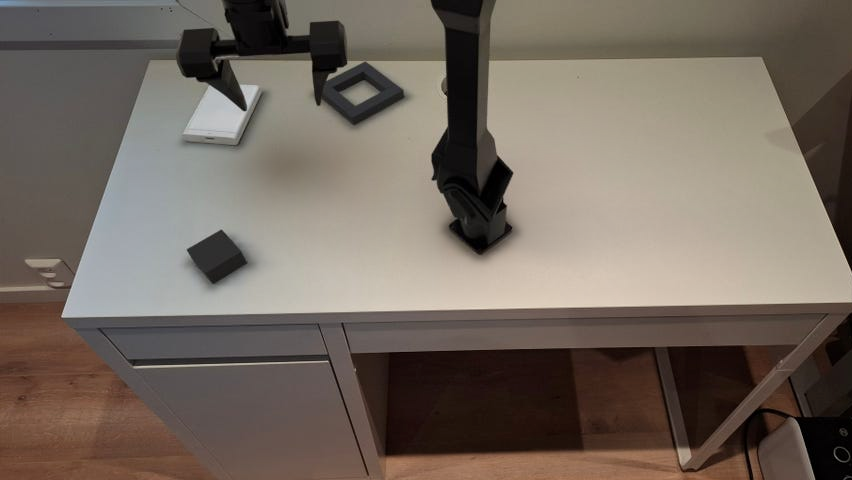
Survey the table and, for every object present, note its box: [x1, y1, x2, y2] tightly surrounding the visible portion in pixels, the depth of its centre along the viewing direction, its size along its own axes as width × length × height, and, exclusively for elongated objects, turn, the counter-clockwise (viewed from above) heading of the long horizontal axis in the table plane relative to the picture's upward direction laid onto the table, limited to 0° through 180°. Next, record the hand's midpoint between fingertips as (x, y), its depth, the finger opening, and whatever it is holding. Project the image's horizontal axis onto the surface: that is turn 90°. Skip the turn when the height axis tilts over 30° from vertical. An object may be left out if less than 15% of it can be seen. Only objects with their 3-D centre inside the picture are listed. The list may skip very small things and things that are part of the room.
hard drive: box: [182, 83, 263, 146], centre depth 94 cm, size 2×8×12 cm
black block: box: [186, 229, 248, 285], centre depth 78 cm, size 5×5×2 cm
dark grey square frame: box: [321, 60, 405, 126], centre depth 98 cm, size 10×10×2 cm
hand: (282, 106), depth 77 cm, fingers open, 9 cm apart
